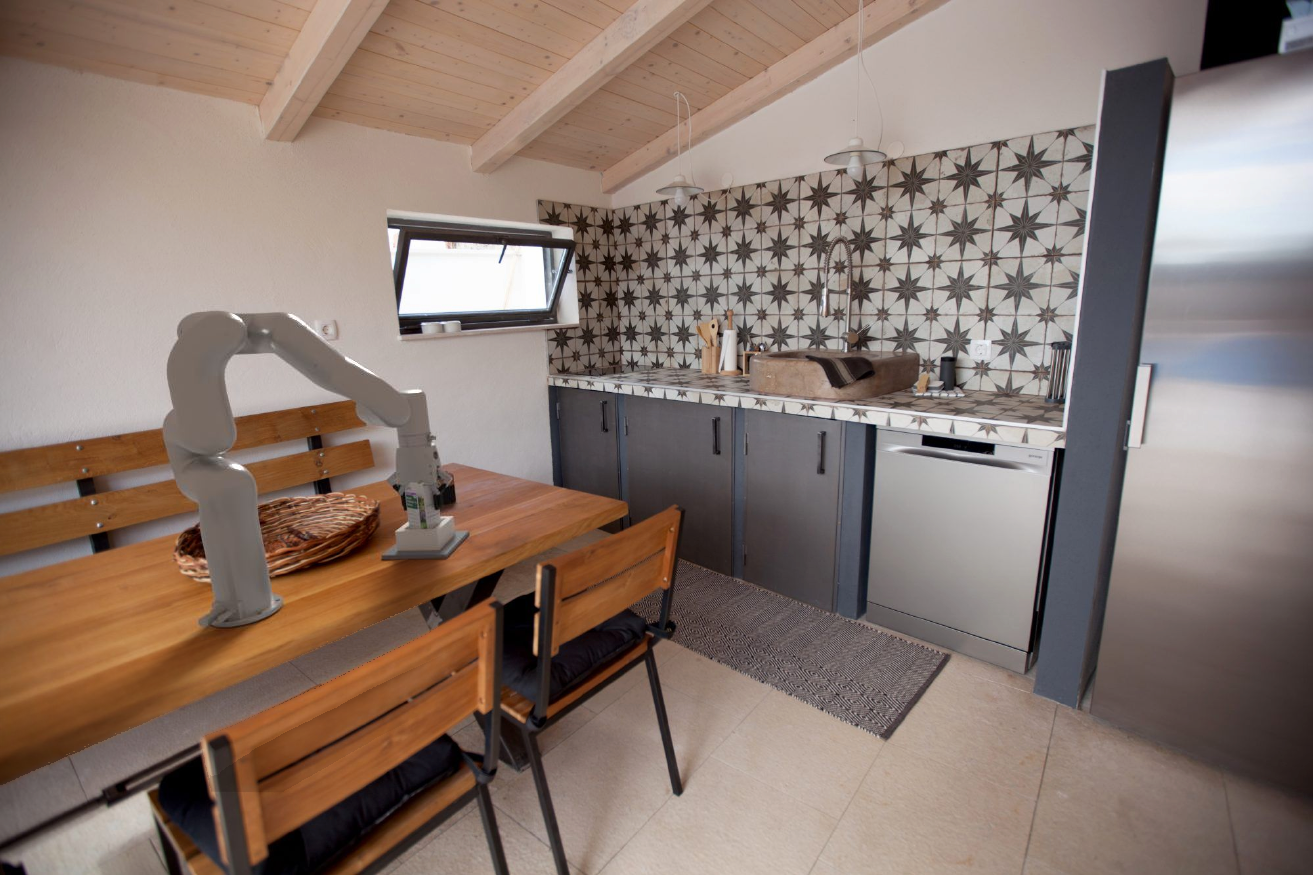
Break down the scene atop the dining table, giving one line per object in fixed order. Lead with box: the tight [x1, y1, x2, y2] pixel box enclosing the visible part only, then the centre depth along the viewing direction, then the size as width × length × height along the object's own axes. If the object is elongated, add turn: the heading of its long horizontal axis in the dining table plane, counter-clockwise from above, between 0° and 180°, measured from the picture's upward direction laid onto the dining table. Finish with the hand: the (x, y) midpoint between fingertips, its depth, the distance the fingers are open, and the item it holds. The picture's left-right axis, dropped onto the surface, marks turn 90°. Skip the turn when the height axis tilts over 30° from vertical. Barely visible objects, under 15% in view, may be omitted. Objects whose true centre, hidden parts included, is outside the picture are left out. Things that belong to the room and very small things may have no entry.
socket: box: [381, 515, 470, 560], centre depth 155 cm, size 16×16×6 cm
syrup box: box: [405, 482, 441, 529], centre depth 153 cm, size 6×6×14 cm
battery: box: [439, 470, 457, 506], centre depth 189 cm, size 4×7×10 cm, turn 137°
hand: (423, 508), depth 153 cm, fingers closed on syrup box, 7 cm apart
